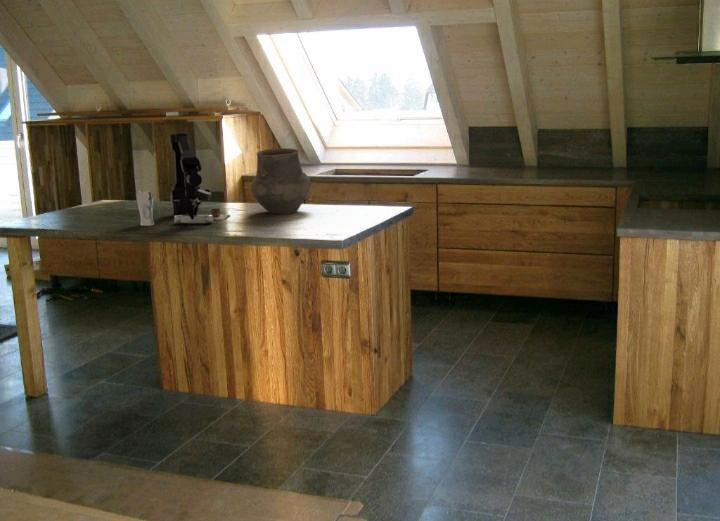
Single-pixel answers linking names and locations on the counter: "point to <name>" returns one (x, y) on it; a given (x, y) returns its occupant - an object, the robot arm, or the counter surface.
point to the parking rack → (217, 214)
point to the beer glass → (145, 207)
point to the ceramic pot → (280, 181)
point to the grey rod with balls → (196, 219)
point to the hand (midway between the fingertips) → (193, 218)
